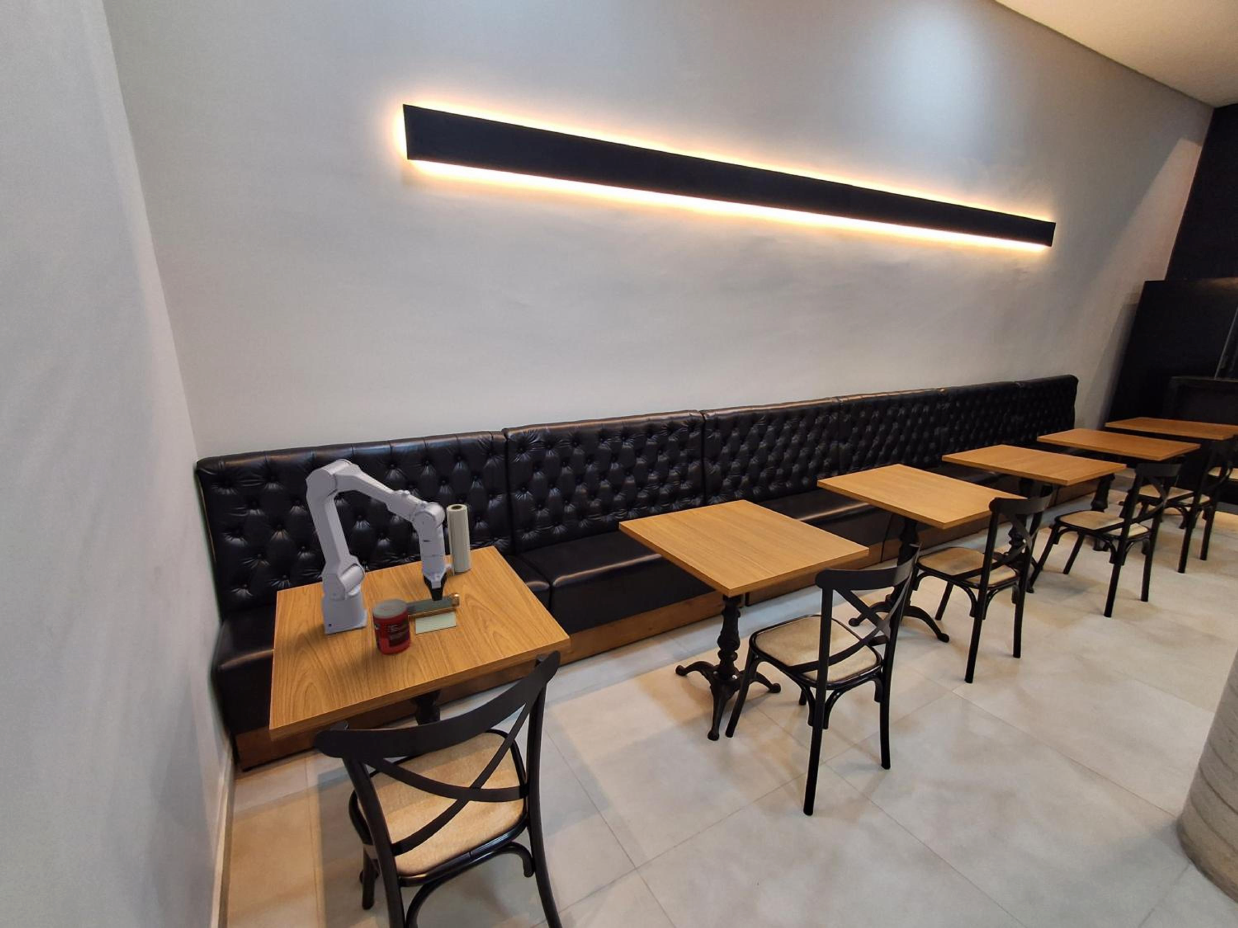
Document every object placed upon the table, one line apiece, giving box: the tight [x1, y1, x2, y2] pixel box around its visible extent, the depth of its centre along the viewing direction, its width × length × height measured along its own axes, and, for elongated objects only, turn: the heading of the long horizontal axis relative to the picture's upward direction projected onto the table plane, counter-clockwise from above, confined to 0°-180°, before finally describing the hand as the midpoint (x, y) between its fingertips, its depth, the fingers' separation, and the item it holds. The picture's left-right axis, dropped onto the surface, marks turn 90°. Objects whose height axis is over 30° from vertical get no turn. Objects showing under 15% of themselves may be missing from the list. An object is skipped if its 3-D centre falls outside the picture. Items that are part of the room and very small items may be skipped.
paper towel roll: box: [445, 503, 472, 576], centre depth 160 cm, size 7×6×21 cm
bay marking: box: [414, 611, 457, 635], centre depth 135 cm, size 10×7×1 cm
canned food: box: [371, 598, 412, 656], centre depth 124 cm, size 8×8×11 cm
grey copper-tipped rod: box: [406, 592, 461, 616], centre depth 138 cm, size 18×3×3 cm, turn 112°
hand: (437, 599), depth 131 cm, fingers closed
